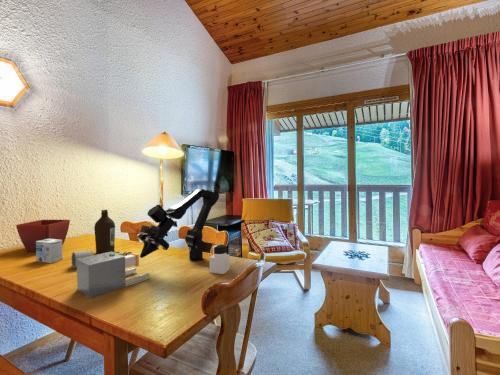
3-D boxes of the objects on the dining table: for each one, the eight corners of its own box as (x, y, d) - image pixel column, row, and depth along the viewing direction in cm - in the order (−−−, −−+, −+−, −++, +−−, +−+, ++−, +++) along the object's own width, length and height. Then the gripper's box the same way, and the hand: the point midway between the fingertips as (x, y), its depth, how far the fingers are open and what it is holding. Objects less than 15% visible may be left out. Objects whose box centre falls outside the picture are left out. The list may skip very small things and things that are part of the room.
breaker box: (135, 272, 117) (134, 245, 117) (149, 278, 110) (148, 249, 109) (77, 289, 99) (76, 257, 99) (89, 298, 92) (88, 263, 91)
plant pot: (48, 253, 149) (47, 224, 148) (15, 253, 149) (14, 224, 149) (71, 245, 168) (70, 219, 167) (42, 245, 168) (42, 219, 168)
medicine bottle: (230, 269, 121) (229, 244, 121) (223, 274, 114) (223, 247, 114) (216, 267, 123) (216, 242, 123) (209, 272, 117) (209, 246, 116)
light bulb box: (35, 261, 134) (35, 241, 134) (49, 257, 141) (48, 238, 140) (50, 263, 131) (49, 242, 131) (63, 259, 138) (62, 239, 137)
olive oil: (92, 255, 144) (90, 211, 144) (98, 250, 155) (97, 209, 154) (112, 254, 147) (111, 210, 146) (117, 249, 157) (117, 208, 156)
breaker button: (133, 263, 113) (133, 252, 113) (138, 265, 110) (138, 254, 110) (104, 271, 104) (104, 259, 103) (109, 274, 101) (109, 261, 100)
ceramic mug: (94, 265, 128) (94, 250, 127) (75, 269, 121) (75, 253, 121) (87, 261, 135) (87, 246, 134) (69, 265, 128) (68, 250, 128)
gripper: (141, 216, 123) (117, 243, 114) (163, 220, 111) (138, 251, 102) (156, 230, 129) (135, 257, 121) (178, 235, 117) (156, 265, 109)
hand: (140, 257), depth 113 cm, fingers closed
